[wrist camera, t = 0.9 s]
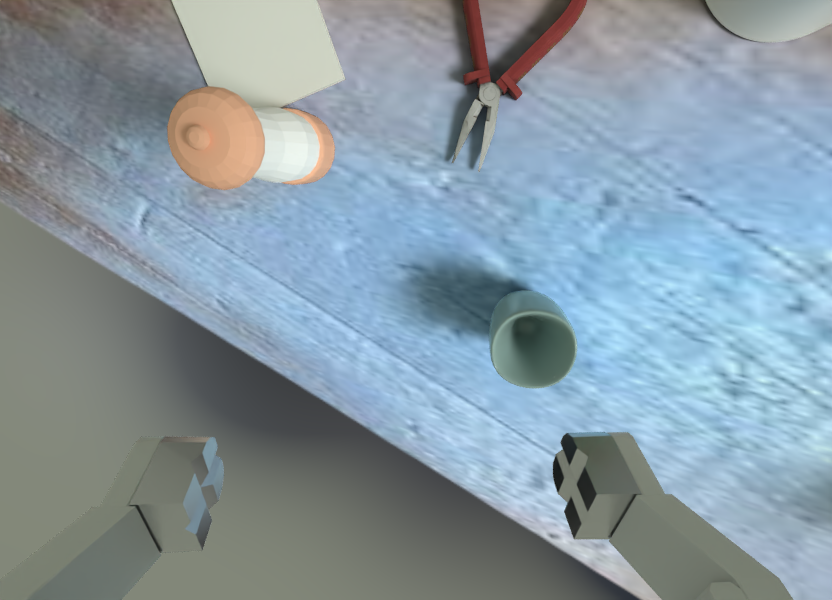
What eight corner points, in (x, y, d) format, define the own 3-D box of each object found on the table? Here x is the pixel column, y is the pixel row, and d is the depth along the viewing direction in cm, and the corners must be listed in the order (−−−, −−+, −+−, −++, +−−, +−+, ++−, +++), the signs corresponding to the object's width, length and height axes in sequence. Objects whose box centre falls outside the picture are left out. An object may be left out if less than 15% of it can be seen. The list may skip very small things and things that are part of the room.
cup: (483, 343, 52) (484, 383, 42) (492, 278, 49) (496, 304, 40) (552, 352, 51) (569, 395, 41) (565, 286, 48) (586, 315, 39)
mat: (345, 79, 45) (344, 78, 45) (229, 130, 49) (227, 130, 48) (264, -146, 41) (262, -148, 41) (141, -74, 44) (139, -76, 44)
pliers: (413, 151, 47) (410, 150, 45) (477, -72, 41) (477, -87, 38) (518, 184, 47) (520, 185, 44) (598, -36, 40) (606, -49, 38)
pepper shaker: (276, 103, 47) (147, 63, 29) (341, 122, 47) (254, 94, 29) (264, 172, 49) (139, 176, 31) (327, 191, 49) (237, 206, 31)
